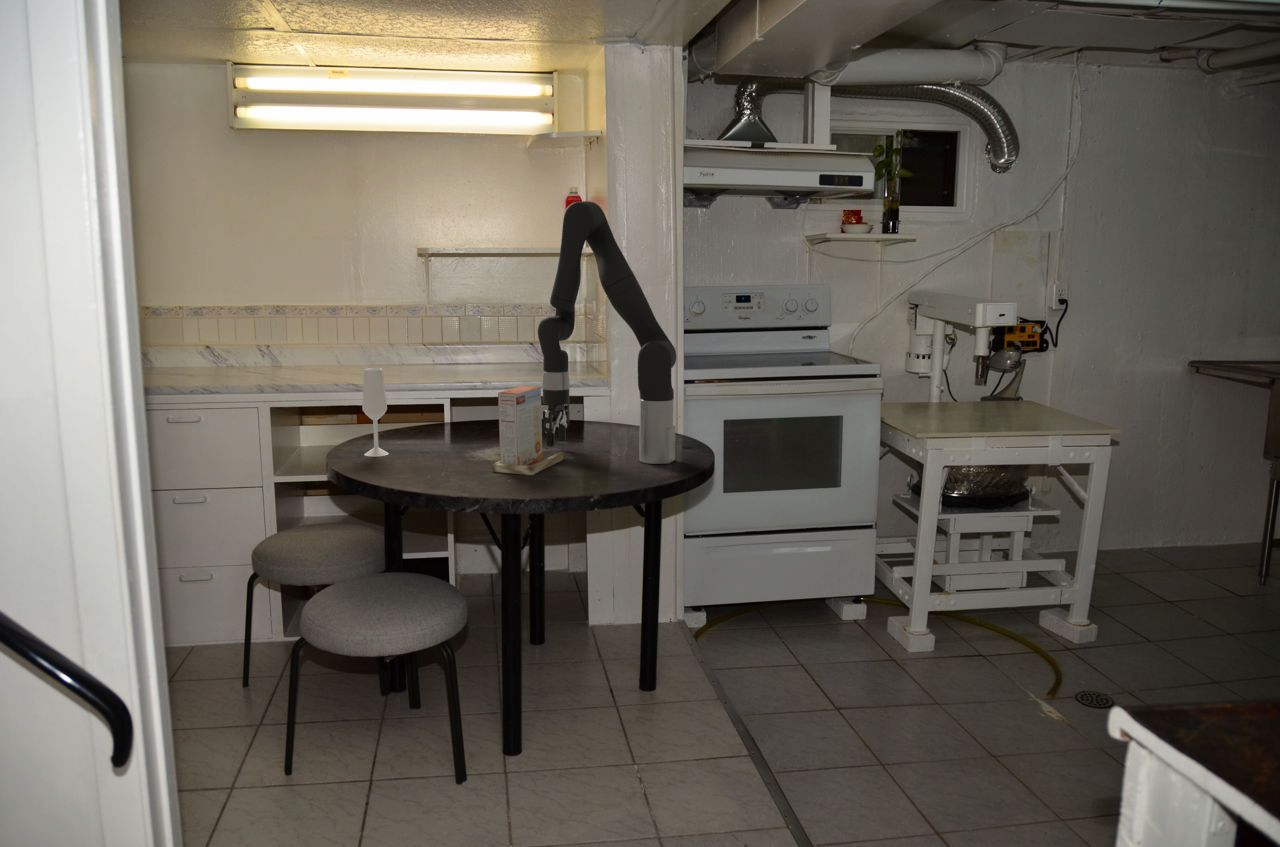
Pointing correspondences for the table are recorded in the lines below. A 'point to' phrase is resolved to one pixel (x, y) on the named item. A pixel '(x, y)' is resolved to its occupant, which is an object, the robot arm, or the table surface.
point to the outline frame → (527, 469)
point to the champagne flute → (374, 404)
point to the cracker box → (520, 425)
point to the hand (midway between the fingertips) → (556, 443)
